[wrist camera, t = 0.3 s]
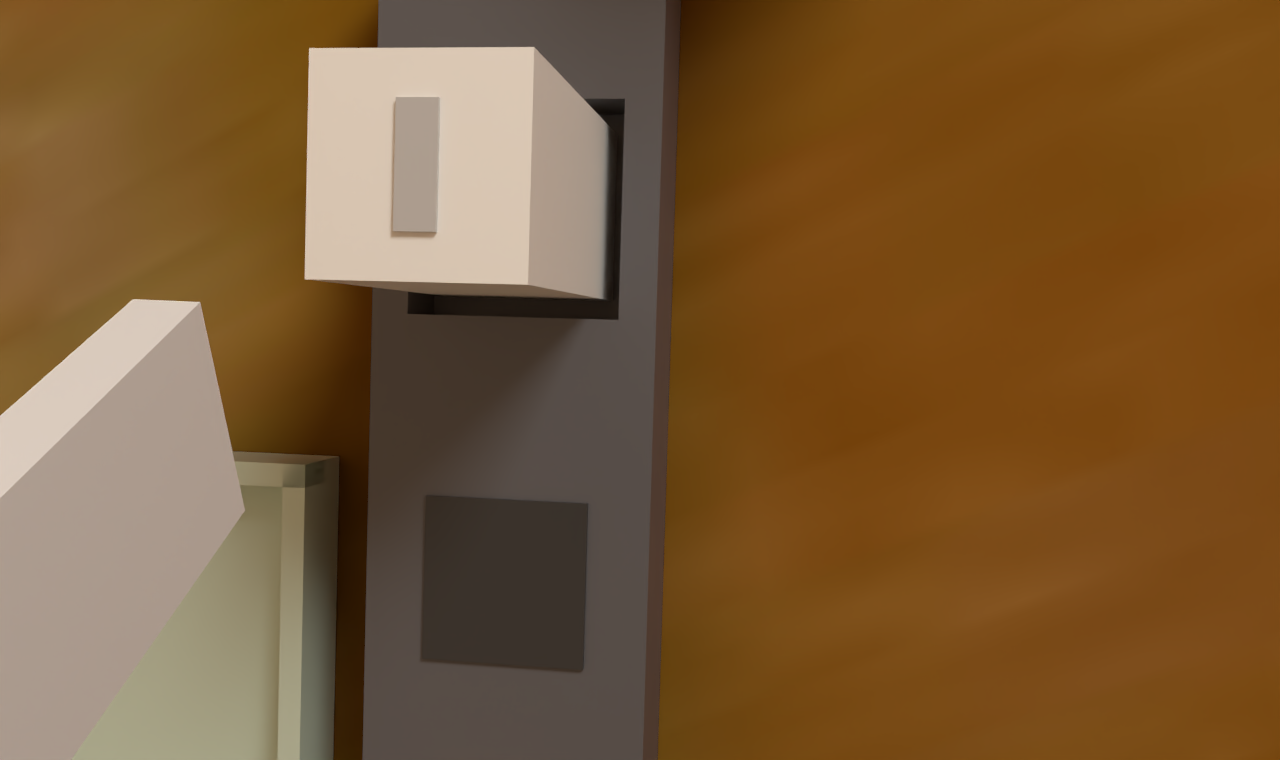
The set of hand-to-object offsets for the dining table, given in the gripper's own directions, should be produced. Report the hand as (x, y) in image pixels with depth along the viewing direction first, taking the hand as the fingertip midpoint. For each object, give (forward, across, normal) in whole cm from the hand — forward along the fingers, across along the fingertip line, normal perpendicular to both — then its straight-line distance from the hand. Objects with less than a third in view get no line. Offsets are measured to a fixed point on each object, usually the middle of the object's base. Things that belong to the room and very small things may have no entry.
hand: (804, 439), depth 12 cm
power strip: (+14, +6, +12) cm, 20 cm away
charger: (+17, +7, +4) cm, 19 cm away
